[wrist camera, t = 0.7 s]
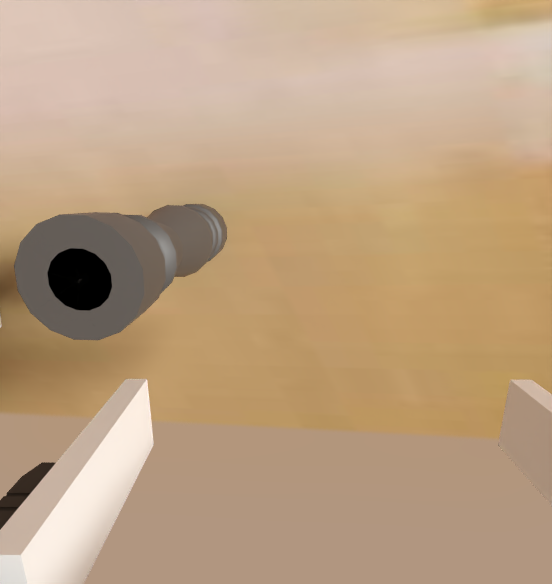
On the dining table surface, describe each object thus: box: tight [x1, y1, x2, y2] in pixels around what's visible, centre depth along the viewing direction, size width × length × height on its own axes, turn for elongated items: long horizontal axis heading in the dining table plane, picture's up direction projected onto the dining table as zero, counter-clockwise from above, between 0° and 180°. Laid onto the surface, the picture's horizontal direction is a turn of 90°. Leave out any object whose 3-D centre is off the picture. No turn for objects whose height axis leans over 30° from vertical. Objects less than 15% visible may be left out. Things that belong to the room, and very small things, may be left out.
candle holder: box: [14, 204, 227, 340], centre depth 28 cm, size 6×6×25 cm
